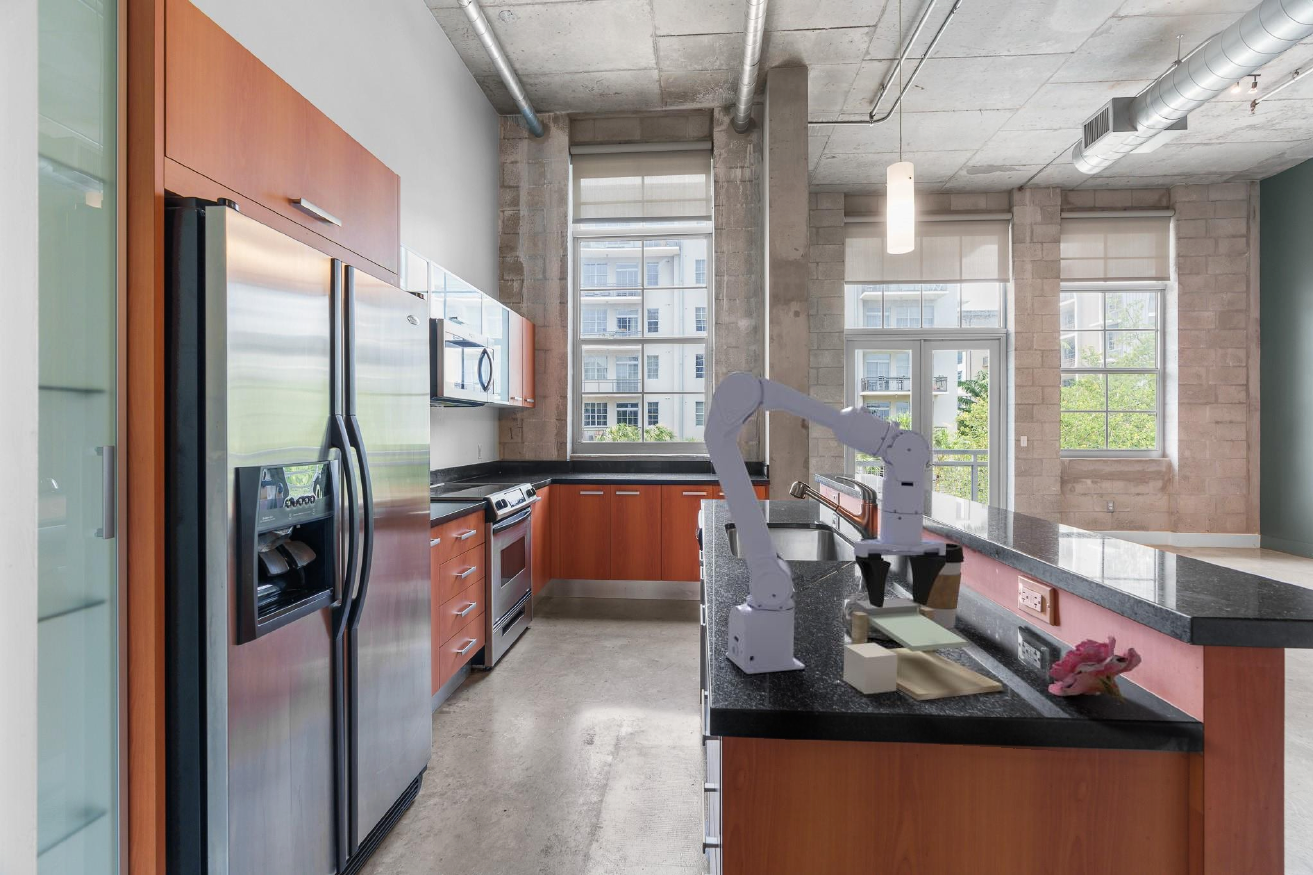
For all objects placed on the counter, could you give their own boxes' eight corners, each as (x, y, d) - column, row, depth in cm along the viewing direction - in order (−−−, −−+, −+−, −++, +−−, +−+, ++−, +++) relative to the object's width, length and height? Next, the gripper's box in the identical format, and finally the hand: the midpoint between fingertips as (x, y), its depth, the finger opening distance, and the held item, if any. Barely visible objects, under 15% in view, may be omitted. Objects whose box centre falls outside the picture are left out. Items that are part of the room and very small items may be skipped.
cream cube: (865, 694, 83) (866, 657, 83) (843, 680, 88) (844, 645, 88) (896, 691, 85) (897, 654, 85) (873, 677, 90) (874, 642, 90)
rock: (839, 640, 107) (935, 654, 102) (842, 603, 106) (937, 615, 102) (841, 618, 119) (927, 630, 114) (843, 584, 118) (929, 595, 114)
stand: (918, 700, 82) (919, 643, 82) (846, 658, 97) (847, 610, 97) (1001, 690, 86) (1003, 636, 86) (920, 651, 101) (921, 605, 101)
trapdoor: (911, 659, 86) (913, 638, 86) (853, 619, 99) (855, 601, 99) (965, 654, 89) (968, 634, 89) (902, 615, 102) (904, 598, 102)
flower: (1038, 715, 86) (1023, 643, 91) (1113, 726, 85) (1093, 652, 91) (1086, 696, 76) (1065, 617, 82) (1170, 708, 76) (1144, 627, 81)
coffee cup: (968, 632, 112) (971, 549, 112) (919, 629, 113) (921, 547, 113) (954, 619, 120) (956, 542, 120) (908, 616, 121) (910, 539, 121)
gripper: (877, 515, 85) (873, 614, 85) (963, 515, 89) (959, 609, 89) (846, 508, 91) (843, 601, 91) (927, 509, 96) (924, 597, 96)
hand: (898, 604), depth 91 cm, fingers open, 7 cm apart
